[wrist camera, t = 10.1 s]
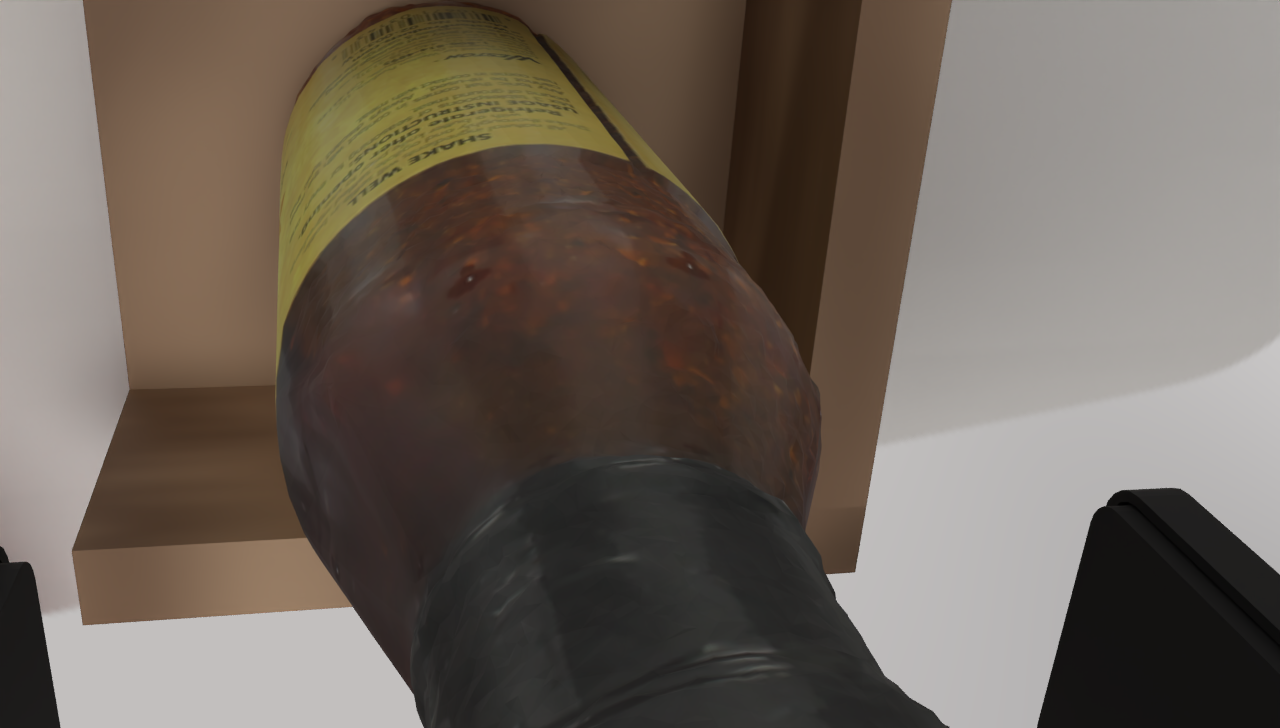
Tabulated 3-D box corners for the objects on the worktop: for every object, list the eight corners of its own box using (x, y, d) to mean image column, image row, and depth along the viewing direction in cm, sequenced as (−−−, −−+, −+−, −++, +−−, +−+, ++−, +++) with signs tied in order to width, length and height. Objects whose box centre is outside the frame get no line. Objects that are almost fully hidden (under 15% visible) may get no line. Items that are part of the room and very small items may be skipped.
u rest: (823, -197, 24) (983, -186, 18) (749, 426, 30) (851, 593, 24) (64, -254, 21) (-53, -264, 15) (146, 450, 27) (86, 649, 21)
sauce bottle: (232, 207, 24) (-62, 1324, 7) (379, -78, 23) (482, 441, 5) (517, 342, 27) (830, 1404, 9) (669, 95, 25) (1387, 834, 8)
